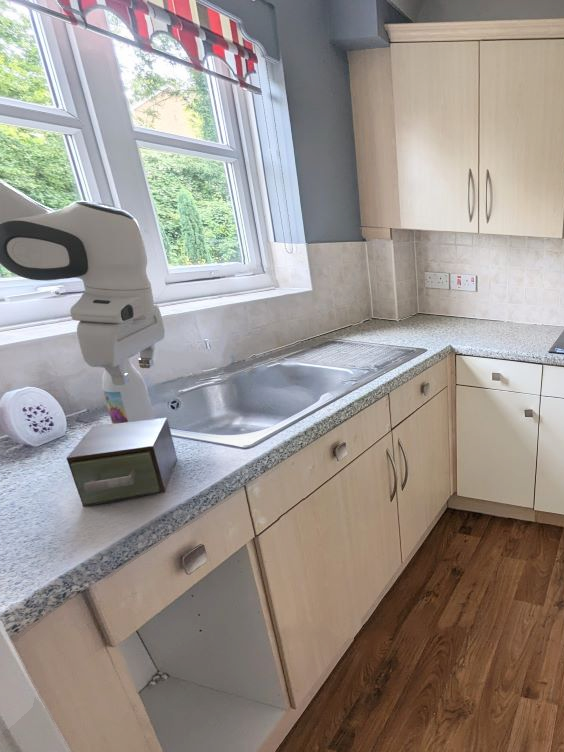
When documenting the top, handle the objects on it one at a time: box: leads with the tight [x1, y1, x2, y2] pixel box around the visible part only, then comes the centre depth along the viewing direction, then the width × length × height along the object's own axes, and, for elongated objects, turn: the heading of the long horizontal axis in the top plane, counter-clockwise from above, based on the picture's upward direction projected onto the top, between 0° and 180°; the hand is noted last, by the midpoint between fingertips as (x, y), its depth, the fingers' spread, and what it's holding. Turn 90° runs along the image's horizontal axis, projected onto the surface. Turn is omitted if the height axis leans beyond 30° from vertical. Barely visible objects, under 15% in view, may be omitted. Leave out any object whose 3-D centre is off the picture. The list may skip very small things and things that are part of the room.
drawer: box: [70, 451, 160, 505], centre depth 83 cm, size 18×10×8 cm, turn 29°
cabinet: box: [66, 417, 178, 507], centre depth 87 cm, size 15×12×10 cm
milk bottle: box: [101, 358, 156, 424], centre depth 106 cm, size 8×8×20 cm
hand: (134, 375), depth 85 cm, fingers open, 8 cm apart
